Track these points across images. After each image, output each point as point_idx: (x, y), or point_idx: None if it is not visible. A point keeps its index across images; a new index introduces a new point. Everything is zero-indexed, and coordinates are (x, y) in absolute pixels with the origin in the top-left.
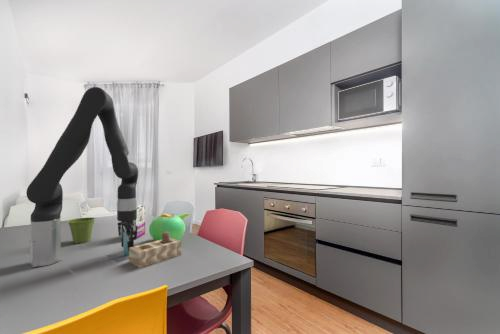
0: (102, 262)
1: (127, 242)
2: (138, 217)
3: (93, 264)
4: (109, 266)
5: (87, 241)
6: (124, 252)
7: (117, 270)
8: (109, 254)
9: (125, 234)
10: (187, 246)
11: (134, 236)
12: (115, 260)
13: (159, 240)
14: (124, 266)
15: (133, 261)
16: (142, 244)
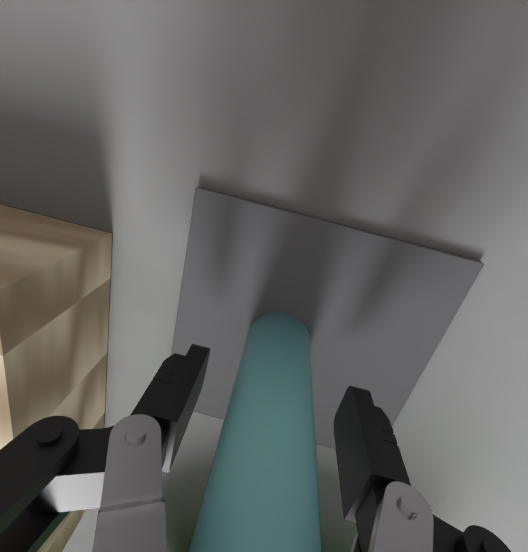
0: (351, 123)
1: (226, 421)
2: None
3: (399, 28)
4: (180, 86)
5: None
6: (274, 330)
7: (17, 57)
8: (460, 289)
9: (150, 536)
10: (81, 545)
11: (44, 521)
12: (251, 206)
13: None
14: (64, 157)
15: (5, 220)
16: (2, 423)
